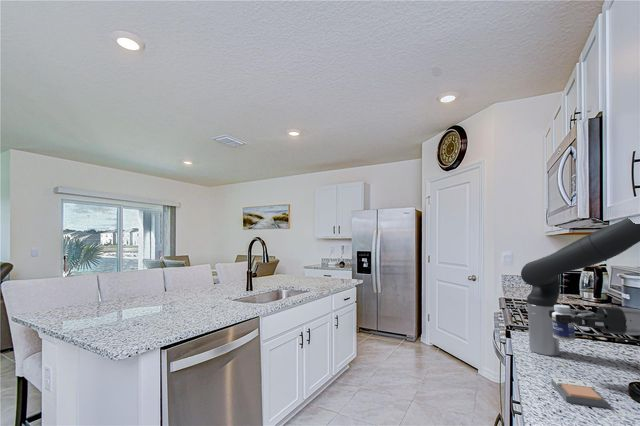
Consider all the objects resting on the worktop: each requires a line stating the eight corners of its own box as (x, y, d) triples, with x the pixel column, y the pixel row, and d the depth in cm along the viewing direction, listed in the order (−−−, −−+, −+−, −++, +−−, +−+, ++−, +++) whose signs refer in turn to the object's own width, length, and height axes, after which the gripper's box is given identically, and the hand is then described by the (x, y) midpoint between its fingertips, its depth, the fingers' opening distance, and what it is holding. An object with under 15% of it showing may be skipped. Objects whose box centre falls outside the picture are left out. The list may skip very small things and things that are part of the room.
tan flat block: (551, 384, 91) (551, 376, 92) (587, 389, 88) (587, 380, 89) (566, 402, 81) (565, 393, 81) (608, 408, 78) (607, 398, 78)
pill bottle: (548, 337, 99) (546, 304, 100) (560, 335, 101) (558, 303, 102) (567, 342, 94) (565, 308, 95) (579, 340, 96) (577, 307, 97)
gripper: (607, 303, 100) (544, 299, 106) (634, 312, 87) (560, 308, 93) (609, 327, 100) (545, 322, 105) (636, 341, 86) (561, 334, 92)
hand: (552, 315), depth 99 cm, fingers closed on pill bottle, 5 cm apart
